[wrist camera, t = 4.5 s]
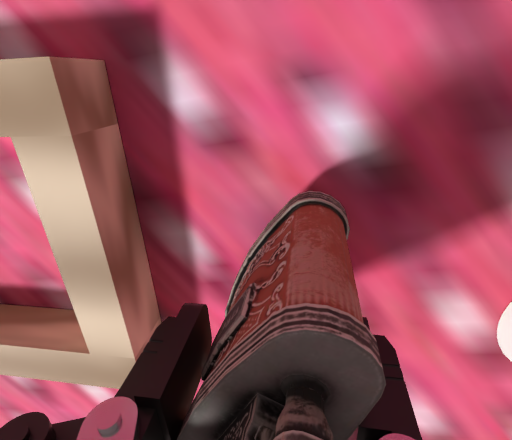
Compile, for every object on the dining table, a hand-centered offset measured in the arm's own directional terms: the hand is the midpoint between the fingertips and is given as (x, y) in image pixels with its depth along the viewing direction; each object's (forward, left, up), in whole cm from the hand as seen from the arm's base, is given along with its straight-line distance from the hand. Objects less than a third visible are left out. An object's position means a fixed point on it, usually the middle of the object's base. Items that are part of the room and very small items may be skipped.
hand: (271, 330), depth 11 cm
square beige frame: (-1, -15, -5) cm, 16 cm away
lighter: (0, 0, -4) cm, 4 cm away
